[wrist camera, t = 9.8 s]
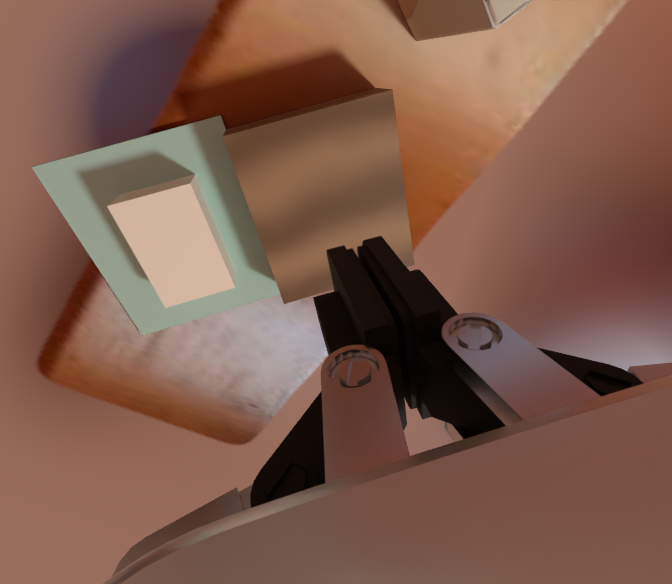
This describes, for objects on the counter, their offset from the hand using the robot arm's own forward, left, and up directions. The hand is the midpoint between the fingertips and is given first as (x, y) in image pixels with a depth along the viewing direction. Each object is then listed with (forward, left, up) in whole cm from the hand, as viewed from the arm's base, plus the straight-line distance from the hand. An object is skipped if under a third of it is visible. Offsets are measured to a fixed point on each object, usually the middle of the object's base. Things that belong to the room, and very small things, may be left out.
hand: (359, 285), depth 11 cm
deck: (+4, +2, -22) cm, 22 cm away
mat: (+4, -11, -22) cm, 25 cm away
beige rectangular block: (+4, -11, -20) cm, 23 cm away
